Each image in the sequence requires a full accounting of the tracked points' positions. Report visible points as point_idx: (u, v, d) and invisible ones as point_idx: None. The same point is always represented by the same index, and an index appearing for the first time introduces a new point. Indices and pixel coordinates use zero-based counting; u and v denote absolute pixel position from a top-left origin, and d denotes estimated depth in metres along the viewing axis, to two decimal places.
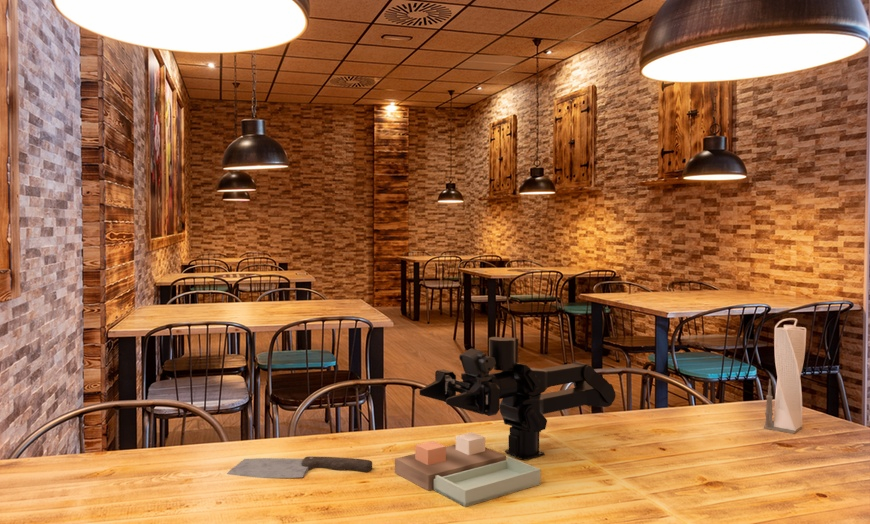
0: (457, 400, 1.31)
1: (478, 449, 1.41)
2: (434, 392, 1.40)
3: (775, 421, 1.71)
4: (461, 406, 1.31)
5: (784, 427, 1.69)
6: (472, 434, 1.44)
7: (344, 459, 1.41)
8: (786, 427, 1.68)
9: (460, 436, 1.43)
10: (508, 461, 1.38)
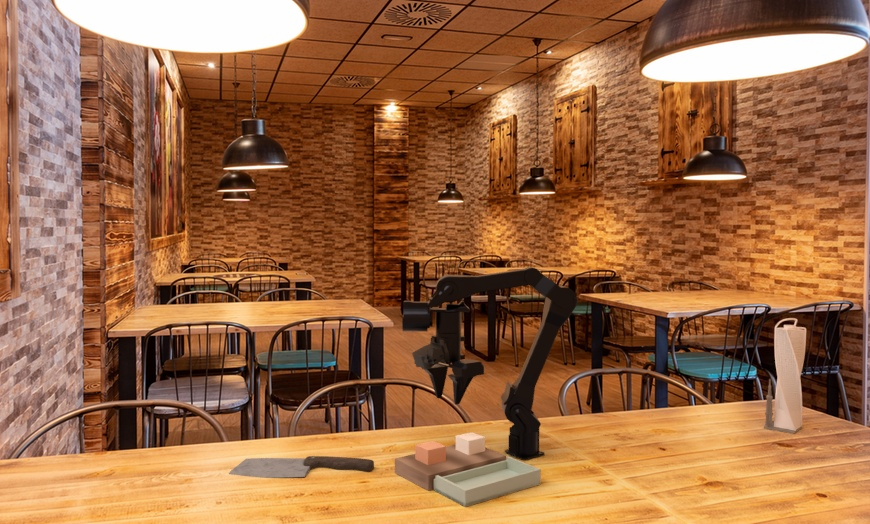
0: (459, 395, 1.46)
1: (478, 449, 1.41)
2: (440, 381, 1.52)
3: (775, 421, 1.71)
4: (464, 391, 1.46)
5: (784, 427, 1.69)
6: (472, 434, 1.44)
7: (346, 459, 1.41)
8: (786, 427, 1.68)
9: (460, 436, 1.43)
10: (508, 461, 1.38)
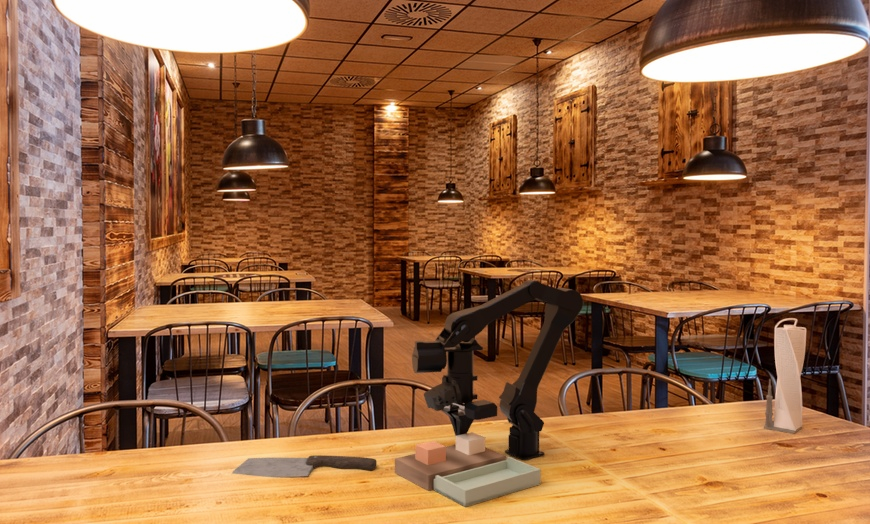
0: (462, 433, 1.45)
1: (478, 449, 1.41)
2: None
3: (775, 421, 1.71)
4: (467, 429, 1.45)
5: (784, 427, 1.69)
6: (472, 434, 1.44)
7: (348, 458, 1.42)
8: (786, 427, 1.68)
9: (460, 436, 1.43)
10: (508, 461, 1.38)
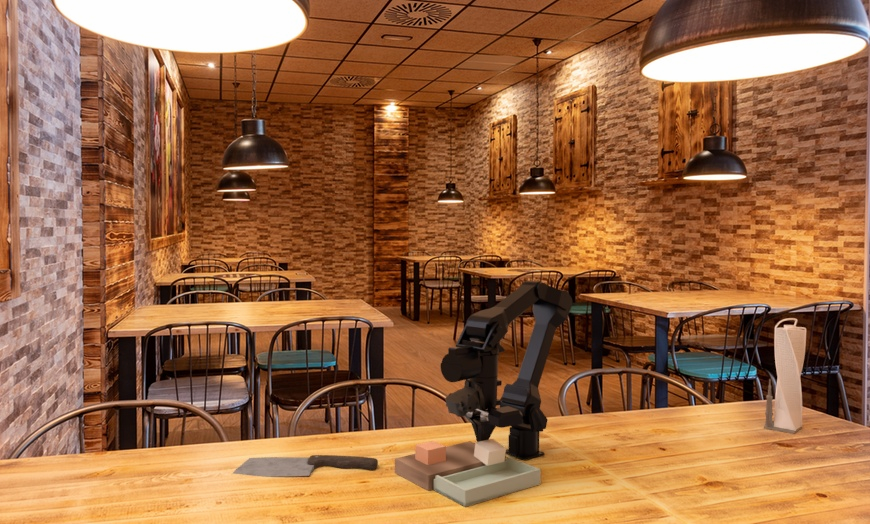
0: (483, 440, 1.39)
1: (497, 460, 1.36)
2: None
3: (775, 421, 1.71)
4: (489, 435, 1.39)
5: (784, 427, 1.69)
6: (492, 442, 1.38)
7: (350, 457, 1.42)
8: (786, 427, 1.68)
9: (480, 444, 1.37)
10: (508, 461, 1.38)
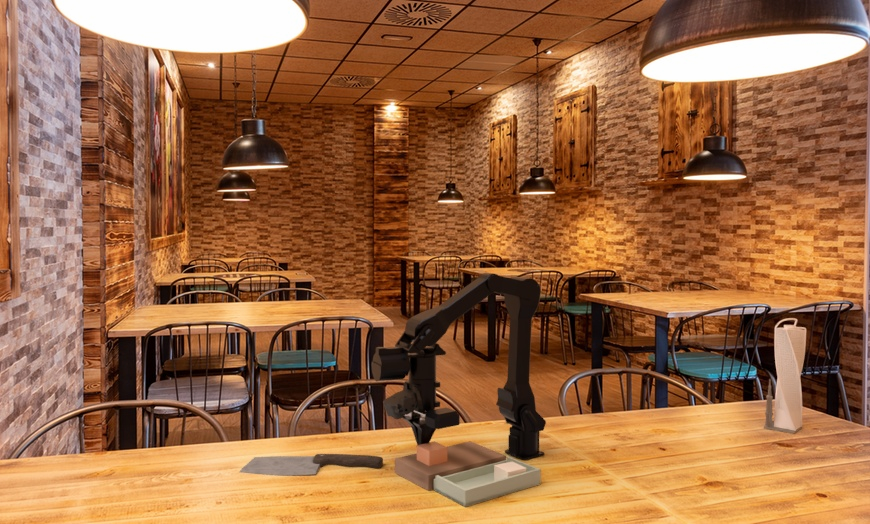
0: (424, 442, 1.38)
1: None
2: None
3: (775, 421, 1.71)
4: (430, 438, 1.39)
5: (784, 427, 1.69)
6: None
7: (355, 456, 1.43)
8: (786, 427, 1.68)
9: None
10: (508, 461, 1.38)
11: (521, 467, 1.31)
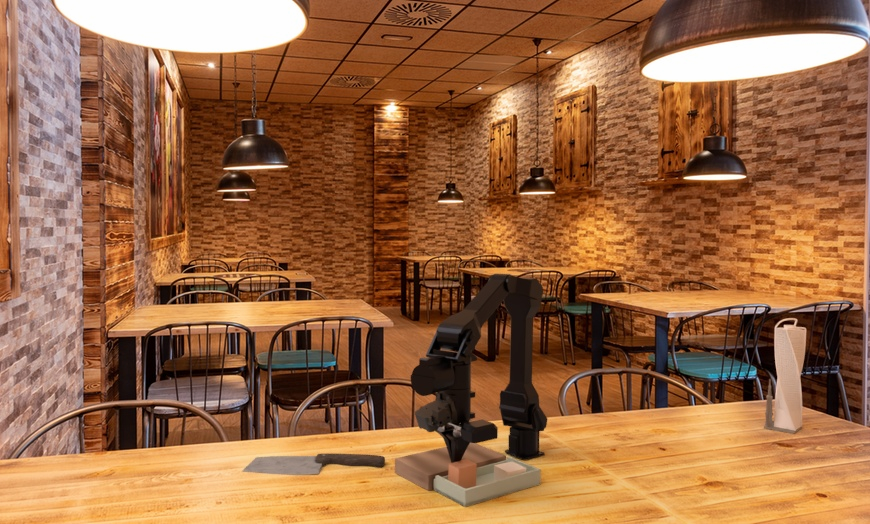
0: (458, 456, 1.29)
1: None
2: None
3: (775, 421, 1.71)
4: (463, 451, 1.30)
5: (784, 427, 1.69)
6: None
7: (357, 455, 1.44)
8: (786, 427, 1.68)
9: None
10: (508, 461, 1.38)
11: (521, 467, 1.31)
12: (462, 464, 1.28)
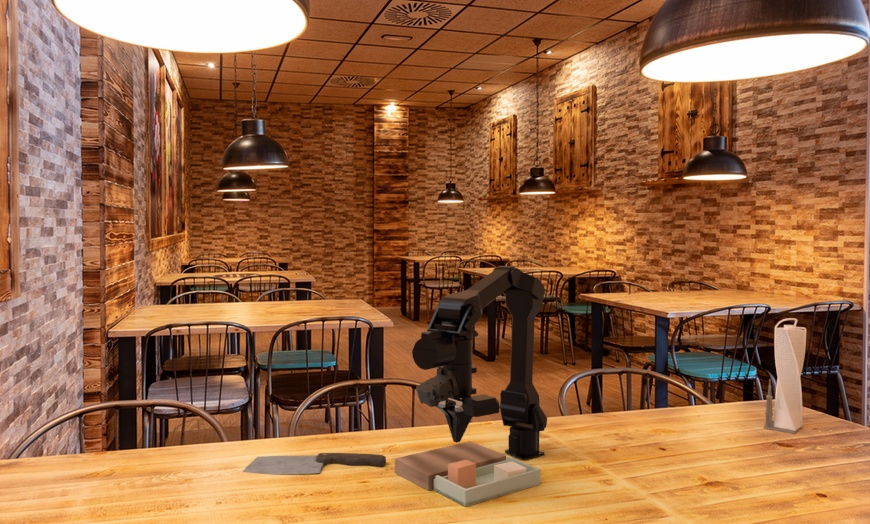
0: (459, 432, 1.28)
1: None
2: None
3: (775, 421, 1.71)
4: (465, 427, 1.29)
5: (784, 427, 1.69)
6: None
7: (358, 455, 1.44)
8: (786, 427, 1.68)
9: None
10: (508, 461, 1.38)
11: (521, 467, 1.31)
12: (461, 464, 1.28)
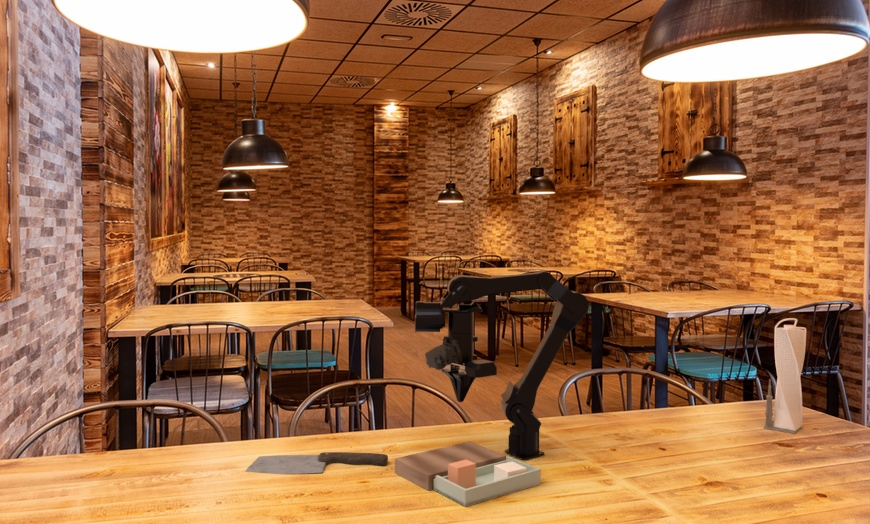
0: (462, 393, 1.48)
1: None
2: None
3: (775, 421, 1.71)
4: (468, 389, 1.48)
5: (784, 427, 1.69)
6: None
7: (360, 454, 1.44)
8: (786, 427, 1.68)
9: None
10: (508, 461, 1.38)
11: (521, 467, 1.31)
12: (461, 464, 1.28)
